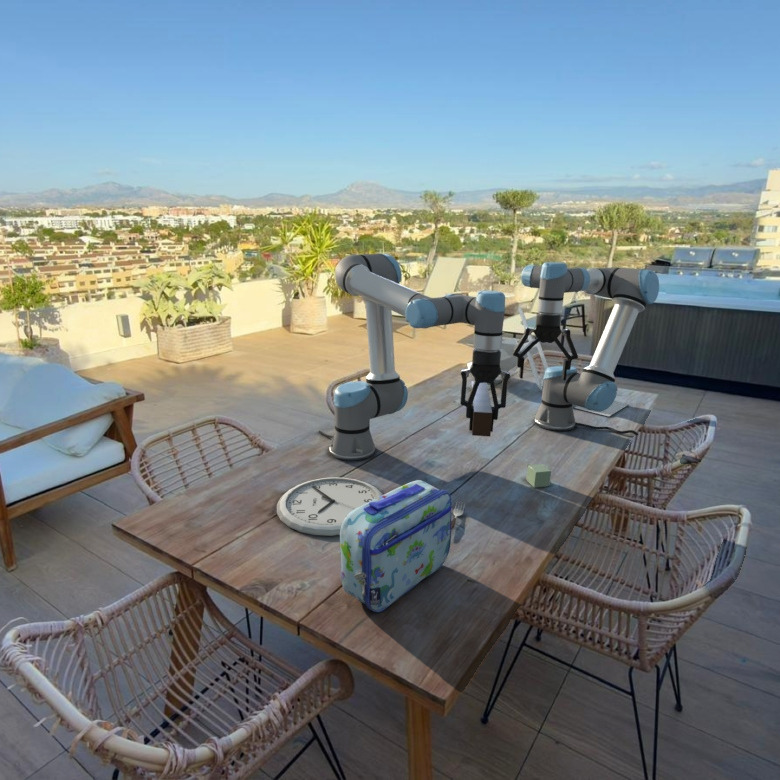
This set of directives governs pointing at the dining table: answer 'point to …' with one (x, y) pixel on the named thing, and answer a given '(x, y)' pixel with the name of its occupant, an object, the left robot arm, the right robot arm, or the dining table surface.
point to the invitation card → (608, 412)
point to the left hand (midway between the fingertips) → (480, 429)
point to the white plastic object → (509, 345)
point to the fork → (457, 514)
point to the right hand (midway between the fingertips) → (542, 378)
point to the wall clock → (323, 504)
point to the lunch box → (394, 543)
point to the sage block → (538, 475)
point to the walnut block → (481, 411)
